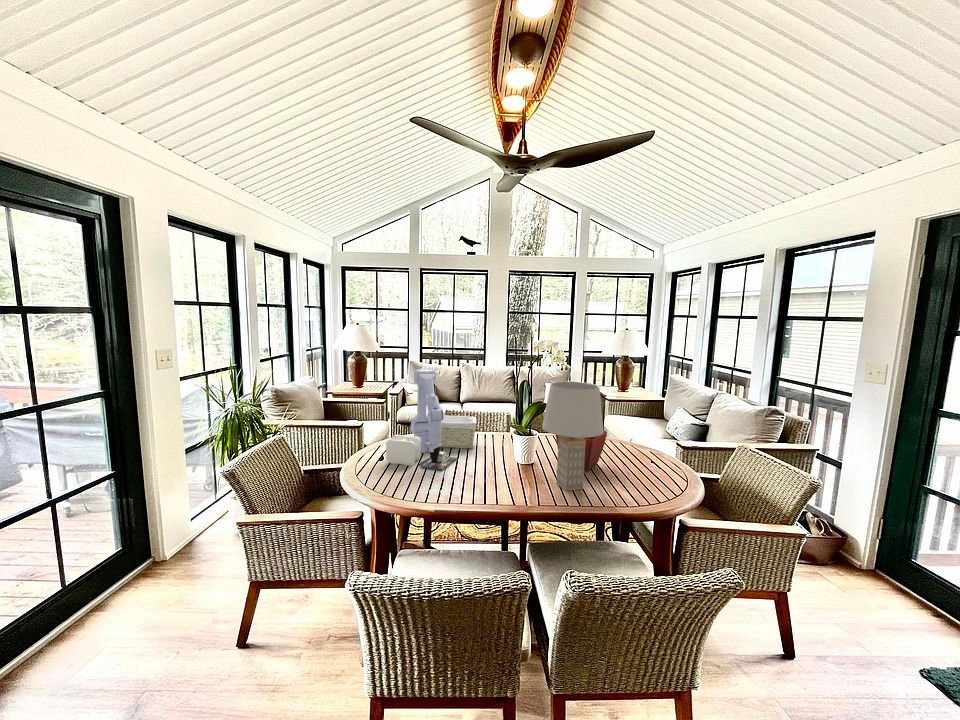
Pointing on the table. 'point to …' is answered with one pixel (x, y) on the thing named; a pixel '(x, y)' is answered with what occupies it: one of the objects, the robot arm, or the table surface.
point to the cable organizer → (403, 449)
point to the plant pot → (592, 450)
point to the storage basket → (457, 431)
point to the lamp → (572, 427)
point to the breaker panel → (439, 464)
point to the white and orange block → (441, 457)
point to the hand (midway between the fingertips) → (434, 462)
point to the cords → (424, 461)
